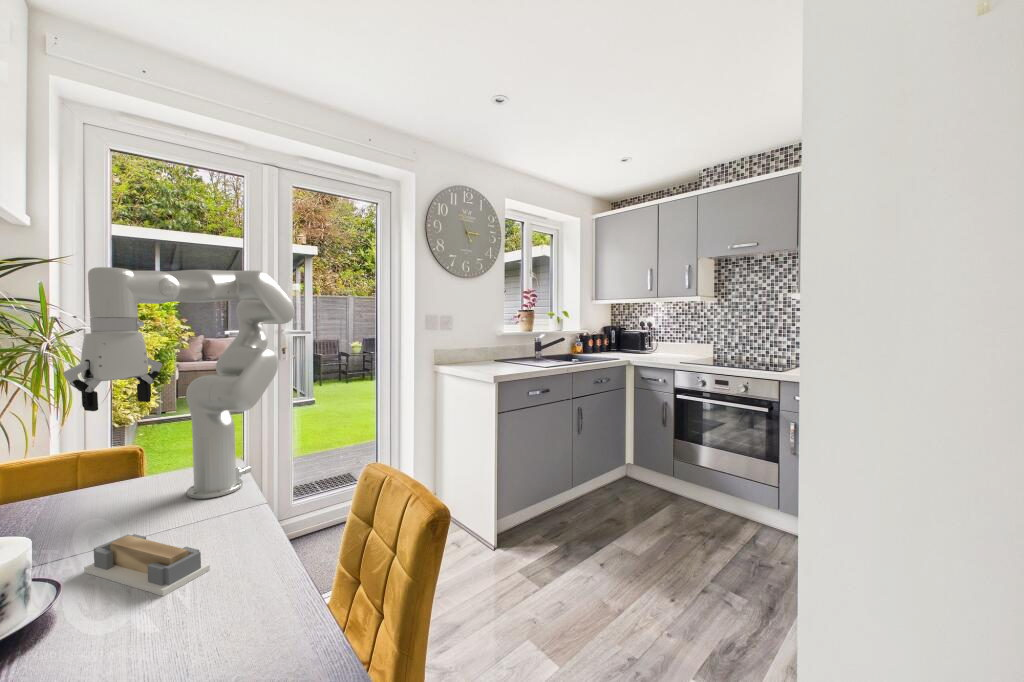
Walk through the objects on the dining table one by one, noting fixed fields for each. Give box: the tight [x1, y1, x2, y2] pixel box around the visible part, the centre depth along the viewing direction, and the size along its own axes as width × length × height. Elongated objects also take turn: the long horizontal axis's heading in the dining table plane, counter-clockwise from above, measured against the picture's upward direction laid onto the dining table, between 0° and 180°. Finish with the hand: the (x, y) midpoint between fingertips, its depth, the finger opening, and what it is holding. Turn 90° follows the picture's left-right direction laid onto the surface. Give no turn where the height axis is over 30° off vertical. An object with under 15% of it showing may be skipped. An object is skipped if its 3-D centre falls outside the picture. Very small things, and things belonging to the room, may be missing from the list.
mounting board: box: [83, 533, 211, 597], centre depth 80 cm, size 8×21×4 cm, turn 72°
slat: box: [110, 536, 188, 574], centre depth 79 cm, size 3×16×4 cm, turn 72°
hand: (118, 405), depth 92 cm, fingers open, 9 cm apart
